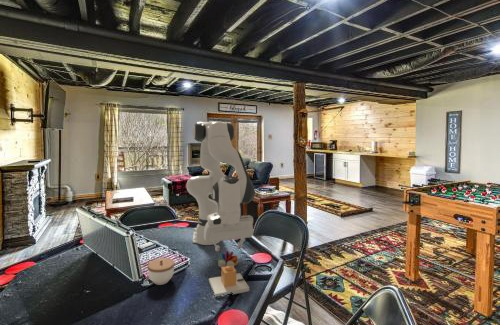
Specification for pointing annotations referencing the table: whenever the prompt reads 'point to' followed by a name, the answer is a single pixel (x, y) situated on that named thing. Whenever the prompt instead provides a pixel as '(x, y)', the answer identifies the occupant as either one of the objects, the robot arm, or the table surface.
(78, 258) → the table surface
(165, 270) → the lidded jar
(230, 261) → the rainbow segmented toy
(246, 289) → the plate
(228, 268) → the orange cube with dome
